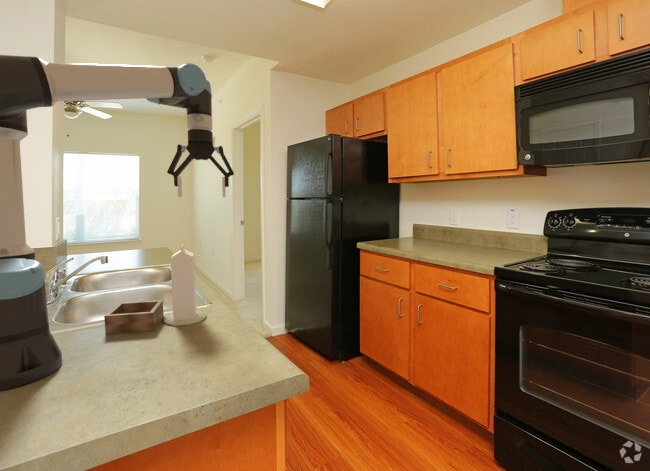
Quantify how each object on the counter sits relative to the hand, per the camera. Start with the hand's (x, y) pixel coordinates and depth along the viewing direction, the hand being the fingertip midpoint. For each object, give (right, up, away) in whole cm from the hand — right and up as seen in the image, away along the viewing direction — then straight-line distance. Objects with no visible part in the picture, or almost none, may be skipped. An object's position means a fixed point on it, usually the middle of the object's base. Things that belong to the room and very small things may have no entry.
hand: (202, 197), depth 113 cm
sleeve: (-15, -38, -12) cm, 43 cm away
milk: (-2, -37, -8) cm, 38 cm away
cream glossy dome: (-2, -38, -8) cm, 39 cm away
